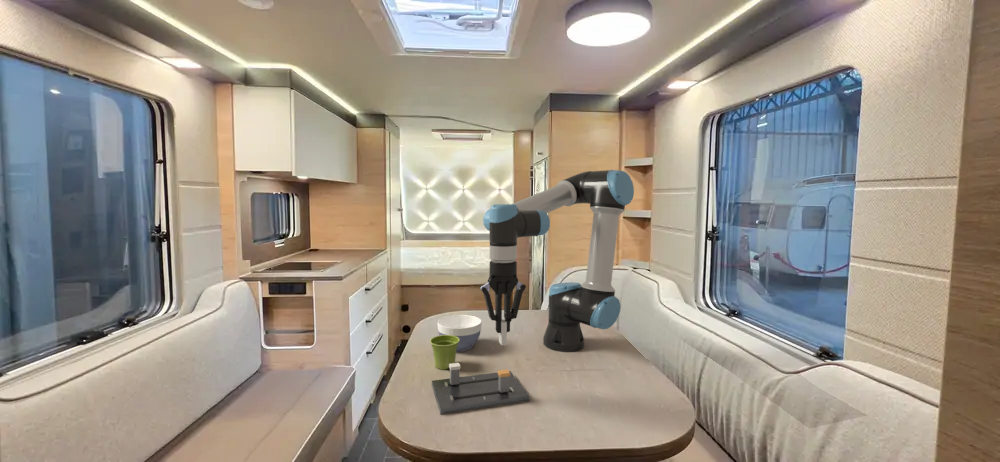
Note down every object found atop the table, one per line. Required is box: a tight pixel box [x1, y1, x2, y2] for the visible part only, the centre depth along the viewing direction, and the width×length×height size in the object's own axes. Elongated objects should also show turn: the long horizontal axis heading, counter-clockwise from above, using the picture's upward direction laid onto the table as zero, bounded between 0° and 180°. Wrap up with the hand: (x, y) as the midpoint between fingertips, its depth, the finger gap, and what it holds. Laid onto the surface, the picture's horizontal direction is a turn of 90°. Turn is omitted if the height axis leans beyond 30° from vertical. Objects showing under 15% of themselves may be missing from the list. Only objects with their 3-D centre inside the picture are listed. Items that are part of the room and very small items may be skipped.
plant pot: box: [429, 335, 459, 370], centre depth 130 cm, size 9×9×9 cm
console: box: [431, 370, 530, 415], centre depth 113 cm, size 24×16×2 cm, turn 108°
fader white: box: [448, 362, 461, 385], centre depth 114 cm, size 3×2×5 cm
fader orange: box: [497, 368, 511, 393], centre depth 110 cm, size 3×2×5 cm
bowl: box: [437, 314, 483, 352], centre depth 147 cm, size 16×16×10 cm
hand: (502, 343), depth 113 cm, fingers closed
